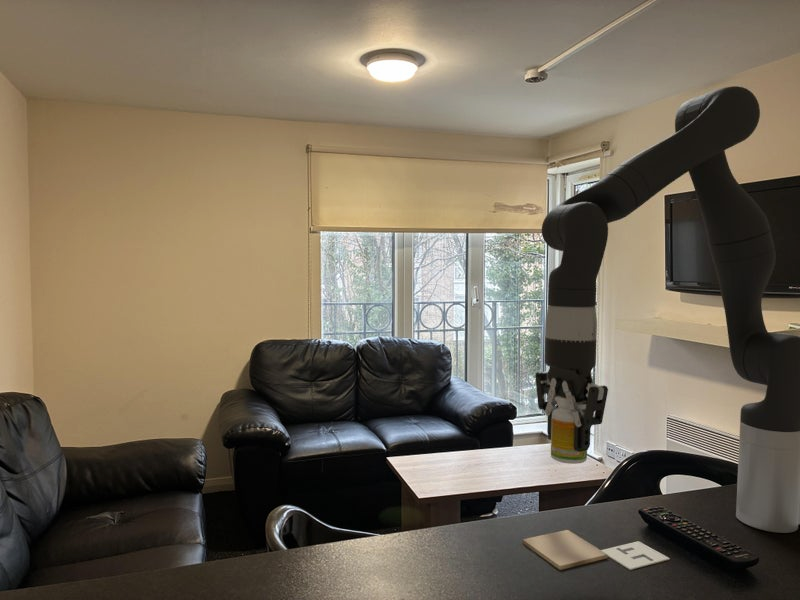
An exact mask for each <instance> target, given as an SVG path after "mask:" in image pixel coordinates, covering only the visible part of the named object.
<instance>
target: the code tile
mask: <svg viewBox="0 0 800 600" xmlns="http://www.w3.org/2000/svg"><path fill="white" fill-rule="evenodd" d="M600 550H601V551H603V552H604V553H606V554H607V558H609V559H611V560H613V561H614V562H616V563H618V564H619V565H620V566H623V567H624V568H626V569H627V570H629V571H632V570H635V569H638V568H643V567H646V566H650V565H654V564H655V565H656V564H658V563H662V562H665V561H669V560H670V557H668V556H667V555H665V554H663V553H661V552H659V551H657V550H655V549H654V548H651V547H649V546H648V545H646V544H644V543H643V542H641V541H634V542H629V543H626V544H621V545H617V546H613V547H609V548H604V549H600Z"/></svg>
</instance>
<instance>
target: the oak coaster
mask: <svg viewBox="0 0 800 600" xmlns="http://www.w3.org/2000/svg"><path fill="white" fill-rule="evenodd" d="M522 544H523V545H525V546H526V547H527V548H528V549H530V550H531V551H533V552H534V553H536V554H537V555H538V556H540V557H541V558H542V559H544V560H545V561H547V562H548V563H550V564H551V565H552V566H553V567H555V568H556V569H558V570H559V571H561V570H562V571H563V570H565V569H570V568H574V567H577V566H581V565H586V564H590V563H594V562H598V561H601V560H606V559H608V556H607V554H606V553H604V552H603V551H601V550H602V549H599V548H598V547H597V546H594V545H593V544H591V543H590V542H588V541H586V540H585V539H584V538H582V537H580V536H578V535H577V534H575V533H574V532H572V531H570V530H569V529H565V530H561V531H556V532H550V533H545V534H542V535H538V536H532V537H528V538H523V539H522Z"/></svg>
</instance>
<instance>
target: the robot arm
mask: <svg viewBox="0 0 800 600" xmlns="http://www.w3.org/2000/svg"><path fill="white" fill-rule="evenodd" d="M760 115H761V110H760V104H759V101H758V99H757V97H756V95H755V94H754V93H753V92H752V91H750V90H749V89H748V88H746V87H743V86H726V87H721V88H718V89H715V90H712V91H709V92H707V93H703V94H701V95H697V96H696V97H695V96H694V97H692V98H690V99H688V100H687V101H685V102H683V103H682V104H681V105H680V106H679V108H678V110H677V111H676V115H675V119H674V130H675V131H674V132H675V133H674V134H671V135H670V136H668V137H666V138H665V139H663V140H661V141H659V142H658V143H656V144H654V145H651V146H649V147H648V148H645V149H643V150H642V151H640V152H638V153H636V154H635V155H633V156H631V157H630V158H628V159H626V160H625V161H623V162H622V163H621V164H619V165H618V166H617V167H615V168H613V169H612V170H611V171H610V172H608V173H607V174H606V175H604V176H603V177H601V178H600V179H599V180H598V181H597V182H595V183H594V184H592V185H591V186H590V187H588V188H585V189H584V190H582V191H580V192H578V193H576V194H574V195H573V196H571V197H569V198H567V199H566V200H564V201H563V202H561V203H559V204H558V205H556V206H555V207H554V208H552V209H551V210H550V211H549V212H548V213H547V214H546V216H545V218H544V219H543V221H542V224H541V225H542V226H541V236H542V239H543V241H544V242H545V243H546V245H547V246H548V247H550V248H551V249H554V250H556V251H560V252H562V257H561V261H560V264H559V265H558V267H555V268H554V269H552V270H551V271H550V273H549V276H548V289H547V293H548V294H547V311H546V317H545V329H544V330H545V333H544V334H545V336H544V337H545V339H544V343H545V344H544V364H545V365H546V366H547V367H549V369H548V370H547V371H540V372H539V371H538V372H536V373H535V385H536V387H535V388H536V396H537V407H538V409H539V410H542V411H543V412H544V414H545V415H546V416H547V428H546V429H547V430H546V431H547V438H548V440H549V441H551V425H552V412H553V410H555V409H556V408H558V405H557V403H556V402H557V396H561V397H564V398H567V403H568V407H569V410H570V411H571V412H572V413H573V416H574V421H575V425H576V426H575V429H574V449H575V450H576V451H578V452H581V451H587V452H588V450H589V448H590V447H591V446H590V445H591V428H592V426H597V425H602V424H603V418H604V414H605V408H606V403H607V398H608V393H609V389H608V386H606V385H604V384H603V385H598V384H596V383H594V380H593V378H592V370H593V369H594V368H595V367H596V366H597V334H598V318H597V309H596V308H597V278H598V275H599V272H600V270H601V266H602V261H603V259H604V254H605V251H606V247H607V243H608V236H609V225H608V224H610V223H612V222H617V221H619V220H622V219H624V218H626V217H628V216H629V215H631V214H632V213H633V212H634V211H637V209H639V208H640V207H641V206H643V205H644V204H645V203H646V202H648V201H650V199H652V198H653V197H654V196H656V195H657V194H658V193H659V192H661V191H662V190H664V189H665V188H666V187H667V186H669V185H670V184H672V183H673V182H675V181H676V180H678V179H679V178H680V177H682V176H684V175H686V174H687V173H688V174H689V176H690V179H691V182H692V185H693V187H694V191H695V195H696V198H697V202H698V206H699V210H700V213H701V216H702V220H703V223H704V227H705V233H706V237H707V238H706V239H707V242H708V247H709V252H710V255H711V258H712V262H713V265H714V268H715V272H716V277H717V280H718V285H719V290H720V295H721V298H722V302H723V304H722V305H723V309H724V315H725V321H726V323H725V324H726V329H727V339H728V344H729V345H728V346H729V352H730V356H731V357H730V359H731V362H732V366H733V368H734V370H735V372H736V373H737V374H738V376H740V378H741V379H743V380H745V381H748V382H750V383H754V384H760V385H764V386H766V391H765V395H764V396H765V397H764V399H762V400H760V401H758V402H757V401H756V402H750V403H749V402H748V403H745V404H744V405H743V406H742V407H741V408H740V420H739V421H740V422H739V438H738V439H739V441H738V462H737V465H738V466H737V482H736V488H737V489H736V506H735V508H736V509H735V511H736V512H735V517H736V519H738V520H739V521H740V522H741V523H743V524H745V525H747V526H750V527H751V528H754V529H758V530H762V531H766V532H771V533H779V534H780V533H781V534H788V533H789V534H790V533H793V532H796V531H798V529H799V525H800V336H798V335H793V334H787V333H777V332H768V330H767V327H766V324H765V320H764V315H763V309H762V303H763V302H762V301H763V295H764V292H765V290H766V287H767V286H768V283H769V281H770V278H771V276H772V274H773V272H774V268H775V265H776V261H777V257H776V256H777V255H776V249H775V244H774V240H773V239H774V238H773V235H772V231H771V226H770V222H769V219H768V217H767V216H766V214H765V212H764V211H763V210H762V208H761V207H760V206H759V205H758V203H757V202H756V201H755V200H754V199H753V198H752V196H750V194H748V193H747V192H746V190H745V189H744V187H742V186H741V185H740V184H739V182H738V181H737V180H736V178H735V176H734V175H733V173H732V170H731V169H730V165H729V163H728V162H729V161H728V159H727V155H726V150H728V149H730V148H732V147H734V146H736V145H738V144H740V143H742V142H744V141H746V140H747V139H748V138H749V137H750V136H752V135H753V133H754V131H755V130H756V128H757V127H758V125H759V122H760ZM545 395H546V400H545ZM582 401H583V405H577V404H576V403H578V402H582ZM580 411H583V414H584V418H582V416H581V412H580Z"/></svg>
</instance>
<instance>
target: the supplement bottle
mask: <svg viewBox="0 0 800 600" xmlns="http://www.w3.org/2000/svg"><path fill="white" fill-rule="evenodd" d="M556 403H557V405H558V408H556V409H555V410H553V412H552V425H551V440H550V458H552V459H553V460H554V461H557V462H559V463H563V464H568V465H569V464H570V465H572V464H573V465H574V464H575V465H576V464H577V465H579V464H582V463H585V462H586V461H587V458H588V450H587V451H581V452H578V451H576V450H575V449H574V429H575V426H576V425H575V421H574V416H573V413H572V412H571V411H570V410H569V407H568V403H567V398H564V397H561V396H557V402H556ZM576 404H577V405H583V401H582V402H578V403H576ZM580 412H581V416H582V418H584V414H583V411H580Z"/></svg>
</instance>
